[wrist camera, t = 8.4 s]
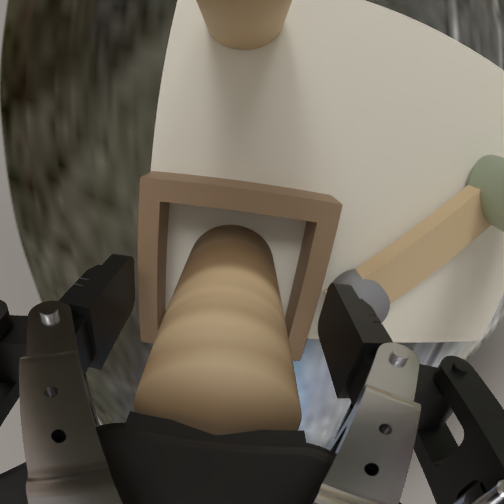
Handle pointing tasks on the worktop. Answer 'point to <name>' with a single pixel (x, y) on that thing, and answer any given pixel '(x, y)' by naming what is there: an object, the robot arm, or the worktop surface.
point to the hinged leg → (432, 239)
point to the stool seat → (320, 155)
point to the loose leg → (223, 342)
